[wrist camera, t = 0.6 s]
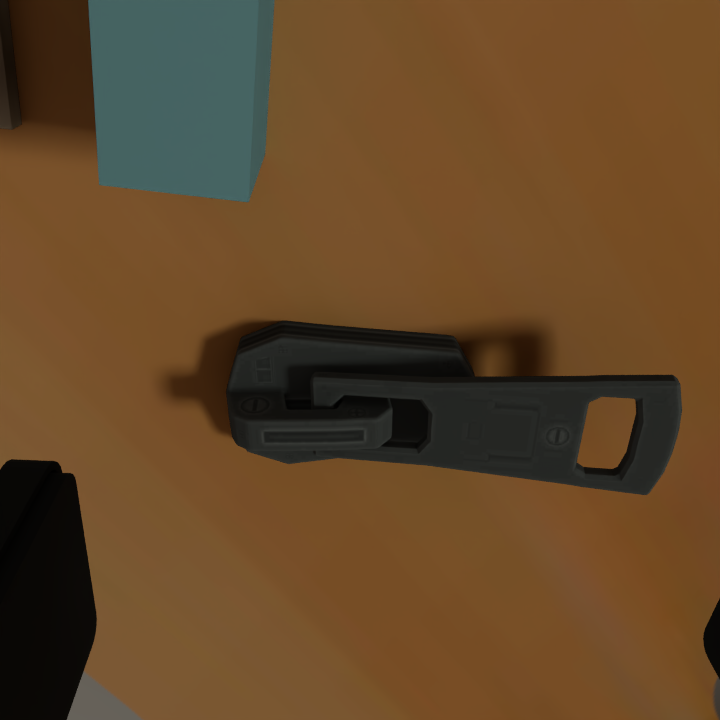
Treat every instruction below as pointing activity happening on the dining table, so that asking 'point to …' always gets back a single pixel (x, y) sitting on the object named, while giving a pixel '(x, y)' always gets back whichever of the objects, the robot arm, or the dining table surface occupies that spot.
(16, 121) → the board
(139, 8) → the cabinet
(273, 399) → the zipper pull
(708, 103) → the dining table surface
